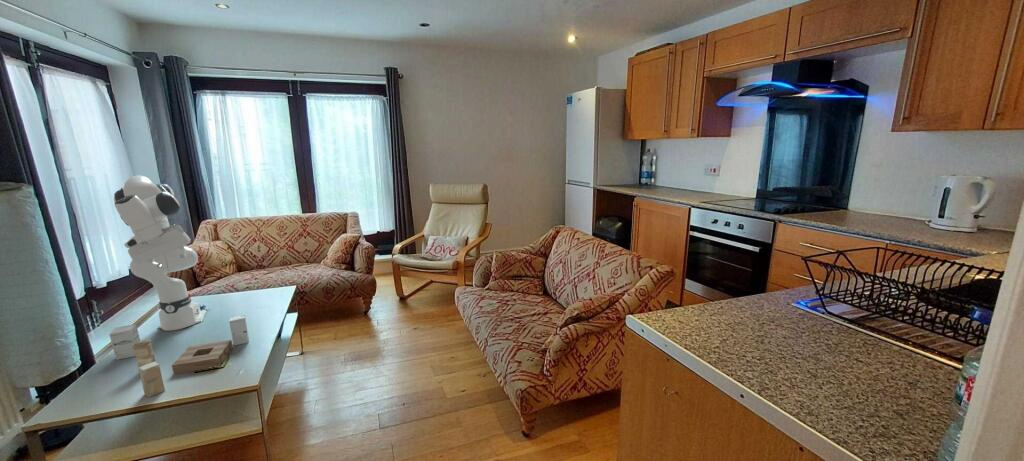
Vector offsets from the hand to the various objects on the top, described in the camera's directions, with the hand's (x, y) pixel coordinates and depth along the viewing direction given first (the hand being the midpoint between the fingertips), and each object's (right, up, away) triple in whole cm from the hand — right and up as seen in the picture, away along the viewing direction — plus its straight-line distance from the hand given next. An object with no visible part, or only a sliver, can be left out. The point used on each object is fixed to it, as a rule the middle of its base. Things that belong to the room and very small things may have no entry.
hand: (172, 262), depth 170 cm
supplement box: (-28, -42, +11) cm, 51 cm away
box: (+8, -47, -17) cm, 51 cm away
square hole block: (+11, -42, +4) cm, 44 cm away
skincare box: (+17, -39, +19) cm, 46 cm away
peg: (-8, -44, -2) cm, 45 cm away
